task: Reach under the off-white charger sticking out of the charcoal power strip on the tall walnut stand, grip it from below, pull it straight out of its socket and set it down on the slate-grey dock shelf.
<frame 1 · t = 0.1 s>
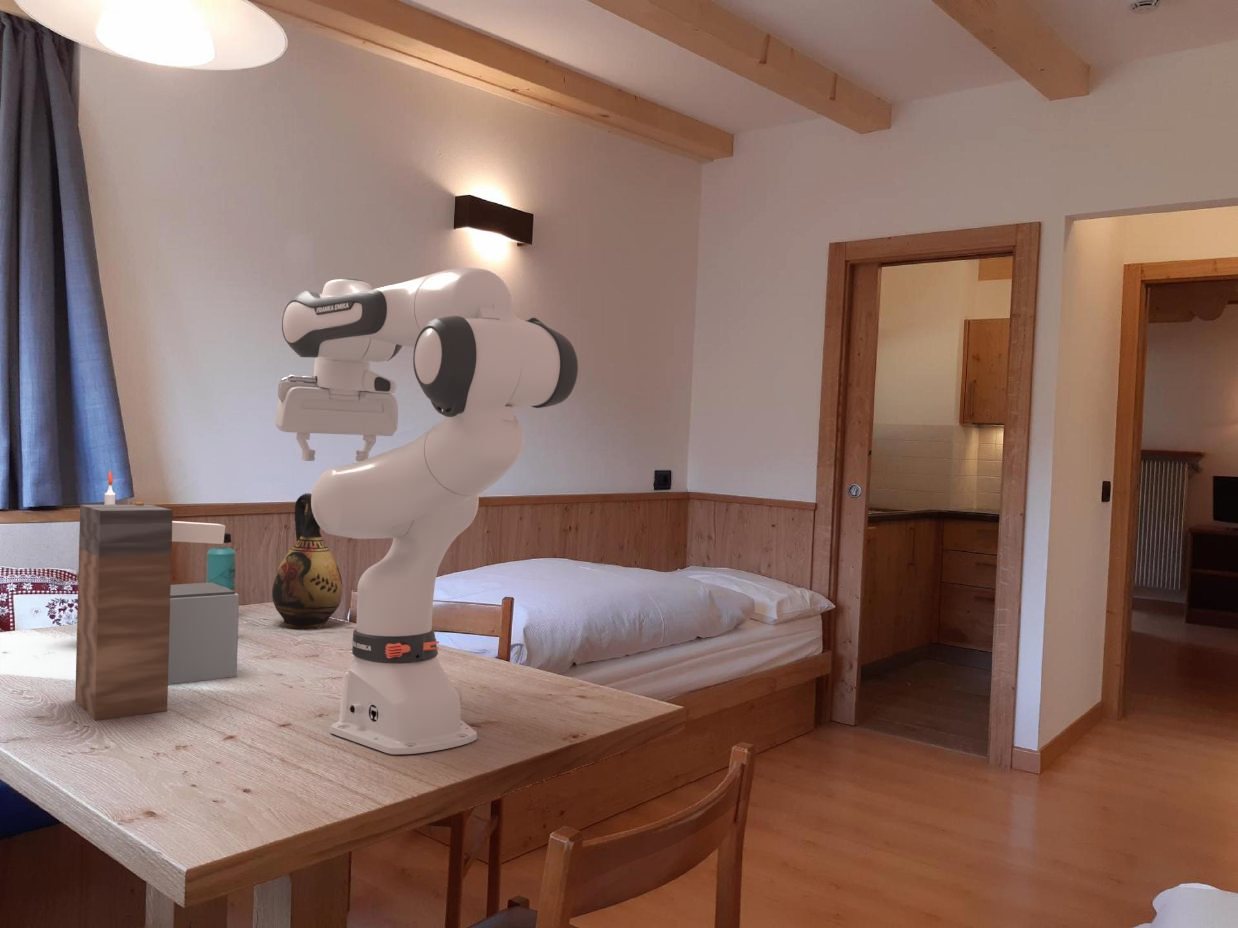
hand: (335, 461, 165), 39 cm above the table, tool pointing down, fingers open, 8 cm apart
ceramic jug: (304, 625, 226), on the table
beverage bottle: (219, 620, 229), on the table
dock shelf: (177, 673, 175), on the table
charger: (159, 537, 157), point 26 cm above the table, touching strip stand
candlestick: (106, 647, 196), on the table
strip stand: (120, 705, 154), on the table
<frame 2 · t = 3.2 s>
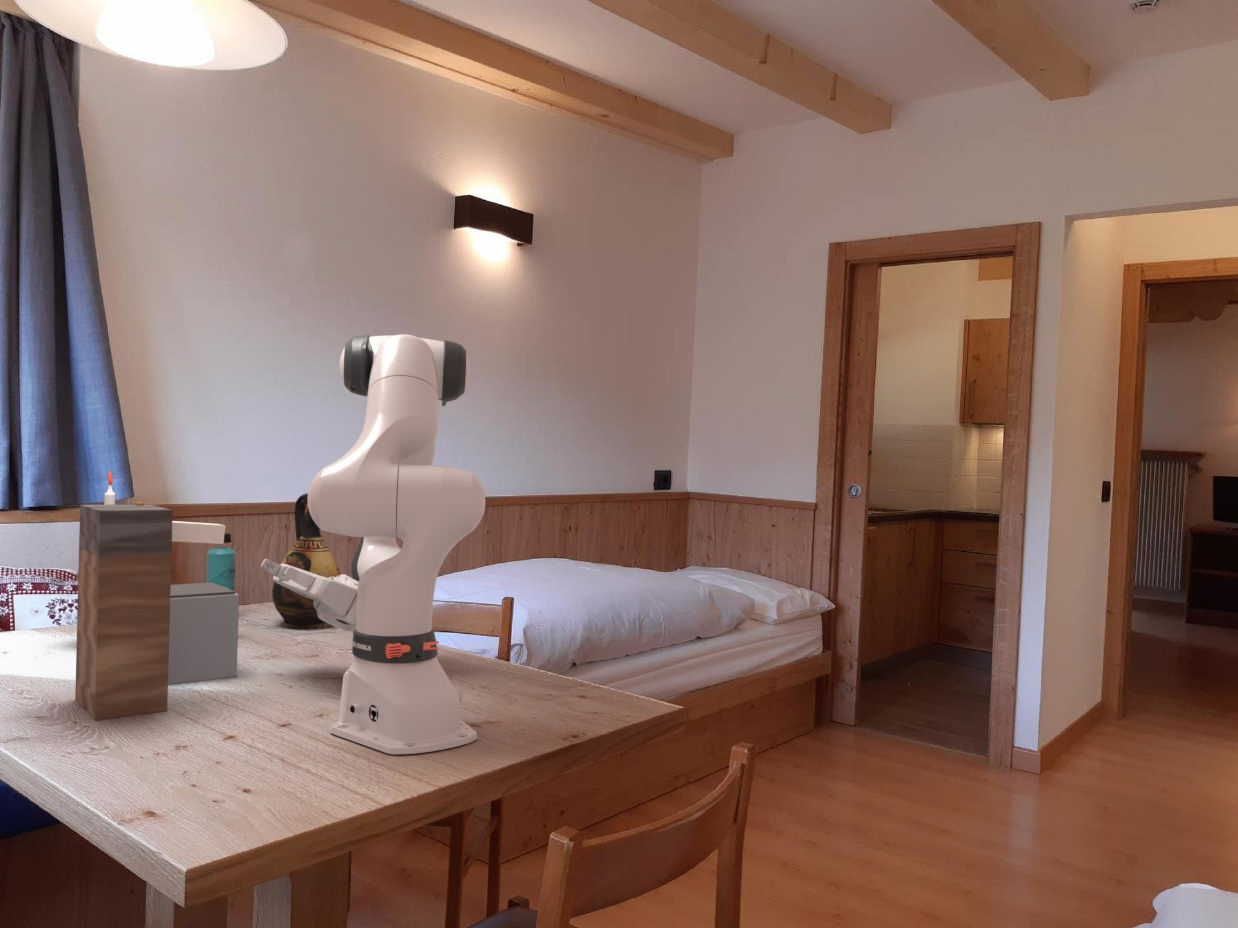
hand: (274, 566, 168), 20 cm above the table, tool pointing upward, fingers open, 8 cm apart
nothing on the table moved.
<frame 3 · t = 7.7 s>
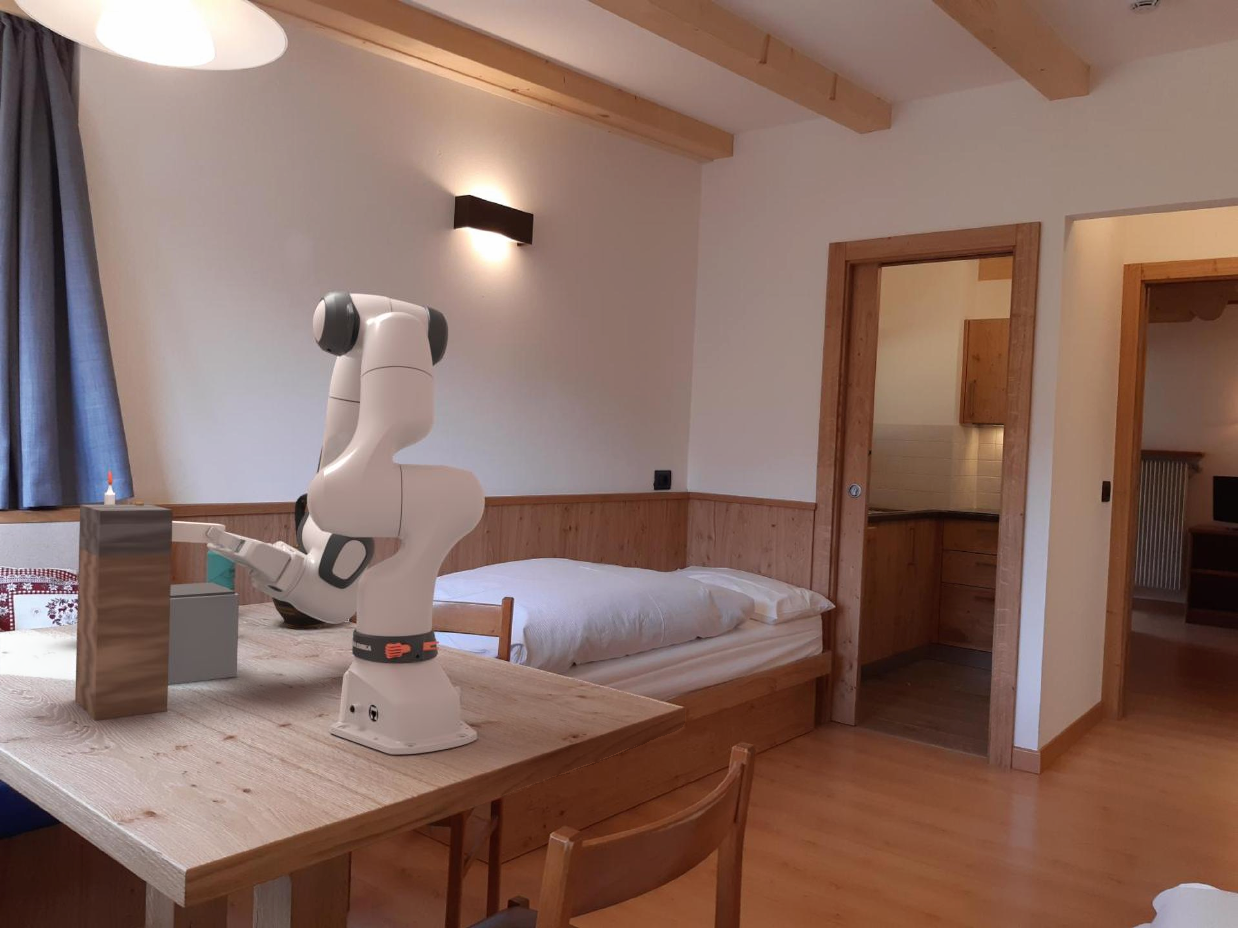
hand: (203, 529, 161), 27 cm above the table, tool pointing upward, fingers closed on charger, 4 cm apart
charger: (159, 537, 157), point 26 cm above the table, touching gripper, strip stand
everything else where it was.
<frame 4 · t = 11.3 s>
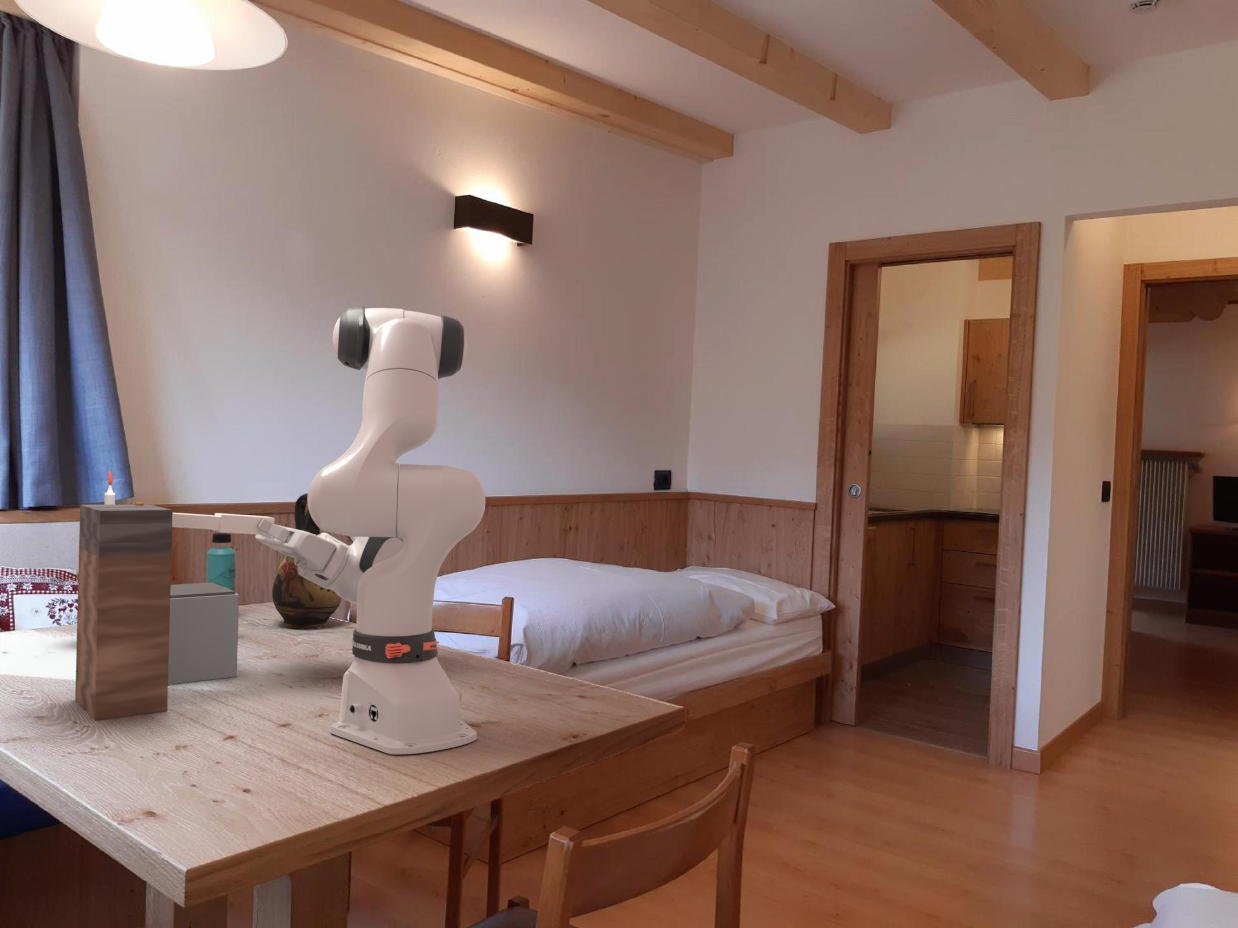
hand: (254, 521, 172), 28 cm above the table, tool pointing upward, fingers closed on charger, 4 cm apart
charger: (214, 528, 167), point 27 cm above the table, touching gripper
everything else where it was.
when the fingers open (19 cm above the table, at t = 14.8 s): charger drops 2 cm, resting on dock shelf.
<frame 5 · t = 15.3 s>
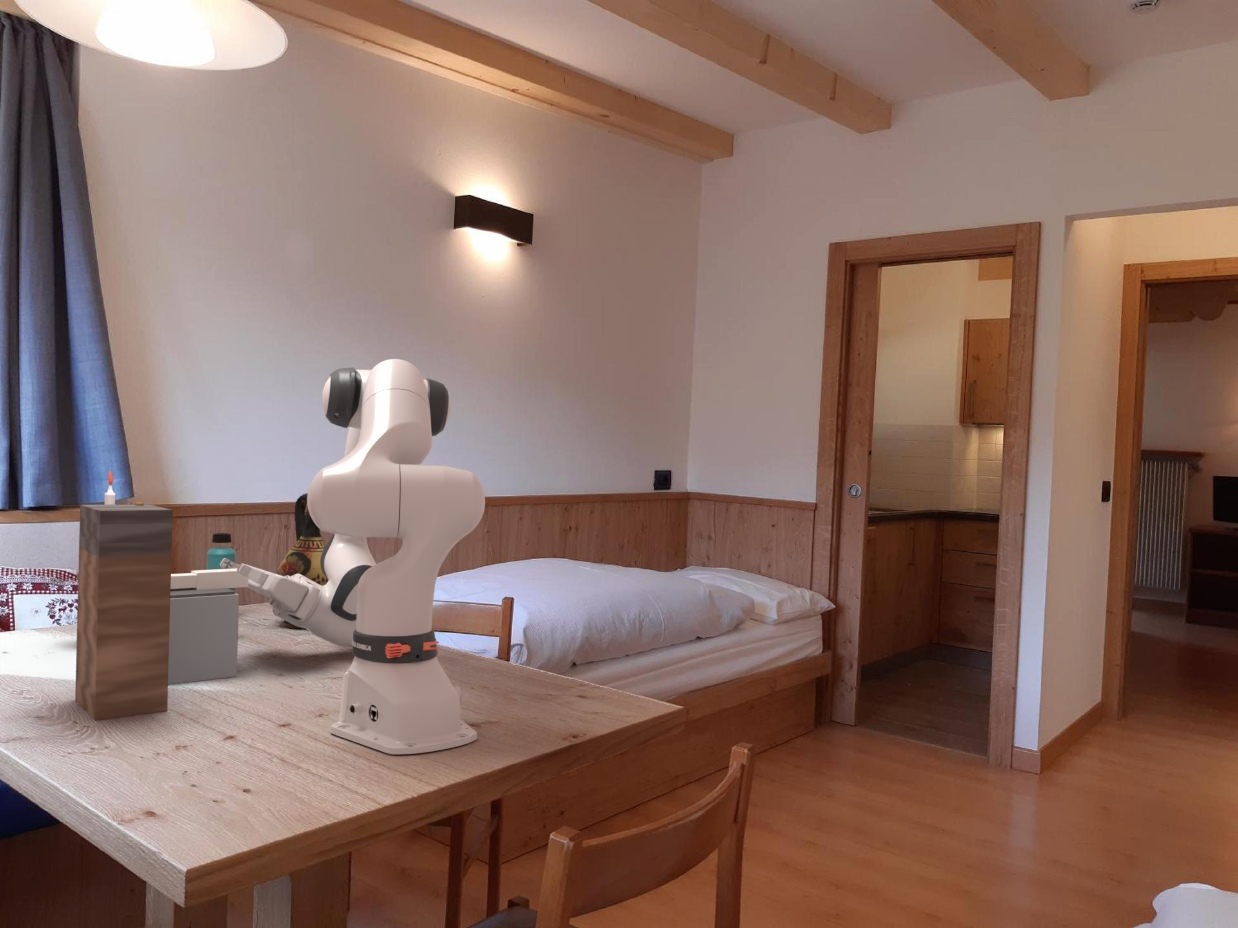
hand: (230, 564, 181), 19 cm above the table, tool pointing upward, fingers open, 8 cm apart
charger: (191, 586, 176), point 15 cm above the table, touching dock shelf
everything else where it was.
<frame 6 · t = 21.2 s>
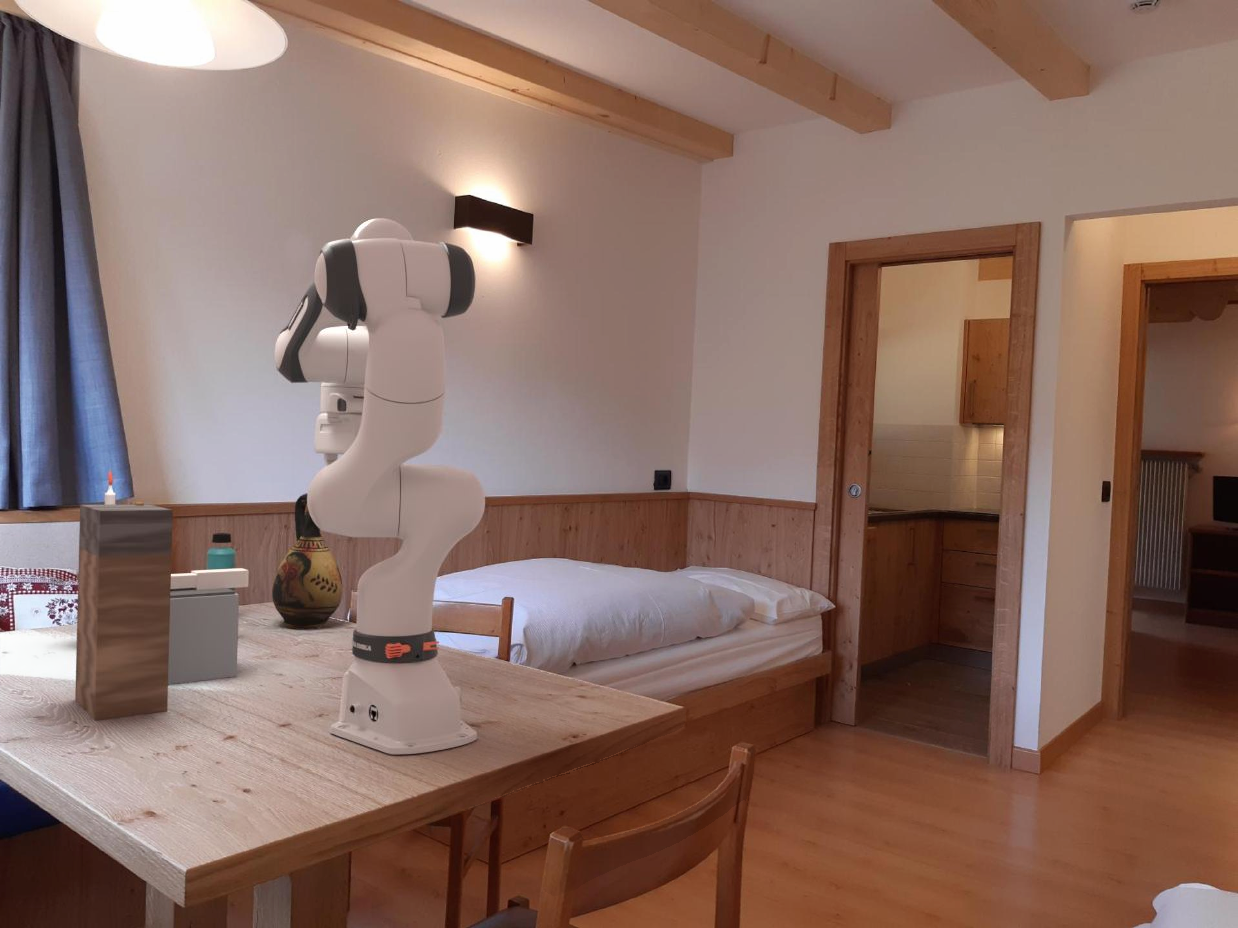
hand: (343, 479, 182), 35 cm above the table, tool pointing down, fingers open, 8 cm apart
nothing on the table moved.
at the end: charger inside the target area (0.0 cm from its centre), point 15.4 cm above the table; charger moved 22.4 cm from its start; the gripper is holding nothing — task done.
